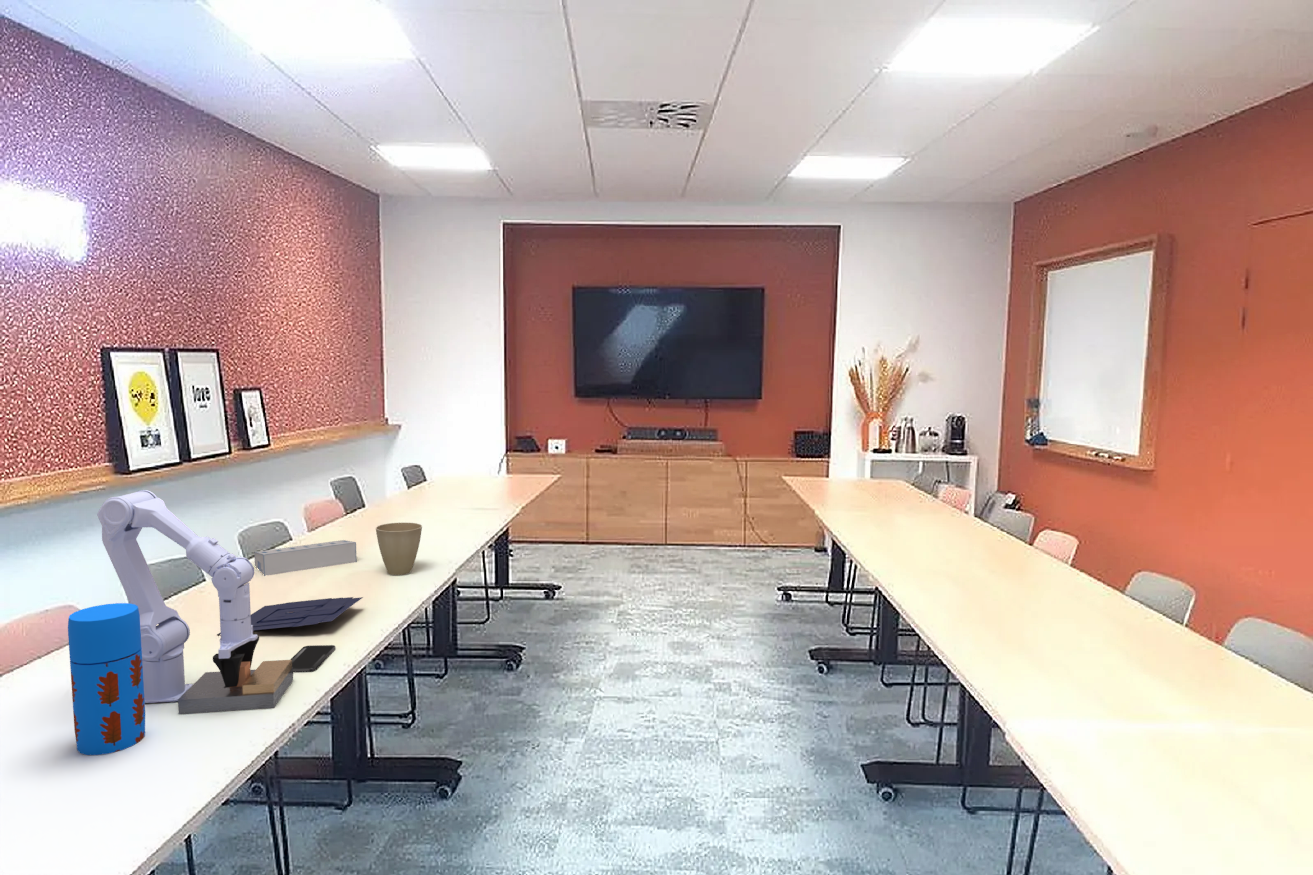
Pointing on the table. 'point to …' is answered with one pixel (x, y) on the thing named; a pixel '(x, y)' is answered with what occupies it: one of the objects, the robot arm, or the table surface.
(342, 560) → the warehouse
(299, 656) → the phone
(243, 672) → the light brown rectangular block
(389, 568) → the plant pot
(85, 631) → the thermos
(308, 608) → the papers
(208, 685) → the bracket plate
